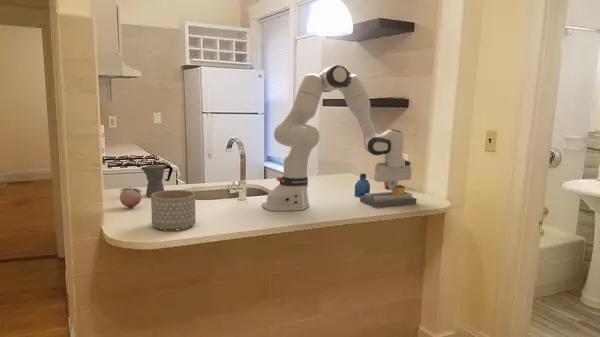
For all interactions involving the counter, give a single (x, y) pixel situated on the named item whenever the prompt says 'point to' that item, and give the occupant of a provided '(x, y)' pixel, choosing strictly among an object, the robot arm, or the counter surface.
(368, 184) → the perfume bottle
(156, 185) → the coffeepot
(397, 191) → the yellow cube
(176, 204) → the planter
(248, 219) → the counter surface
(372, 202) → the grey tray
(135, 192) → the decorative fruit
